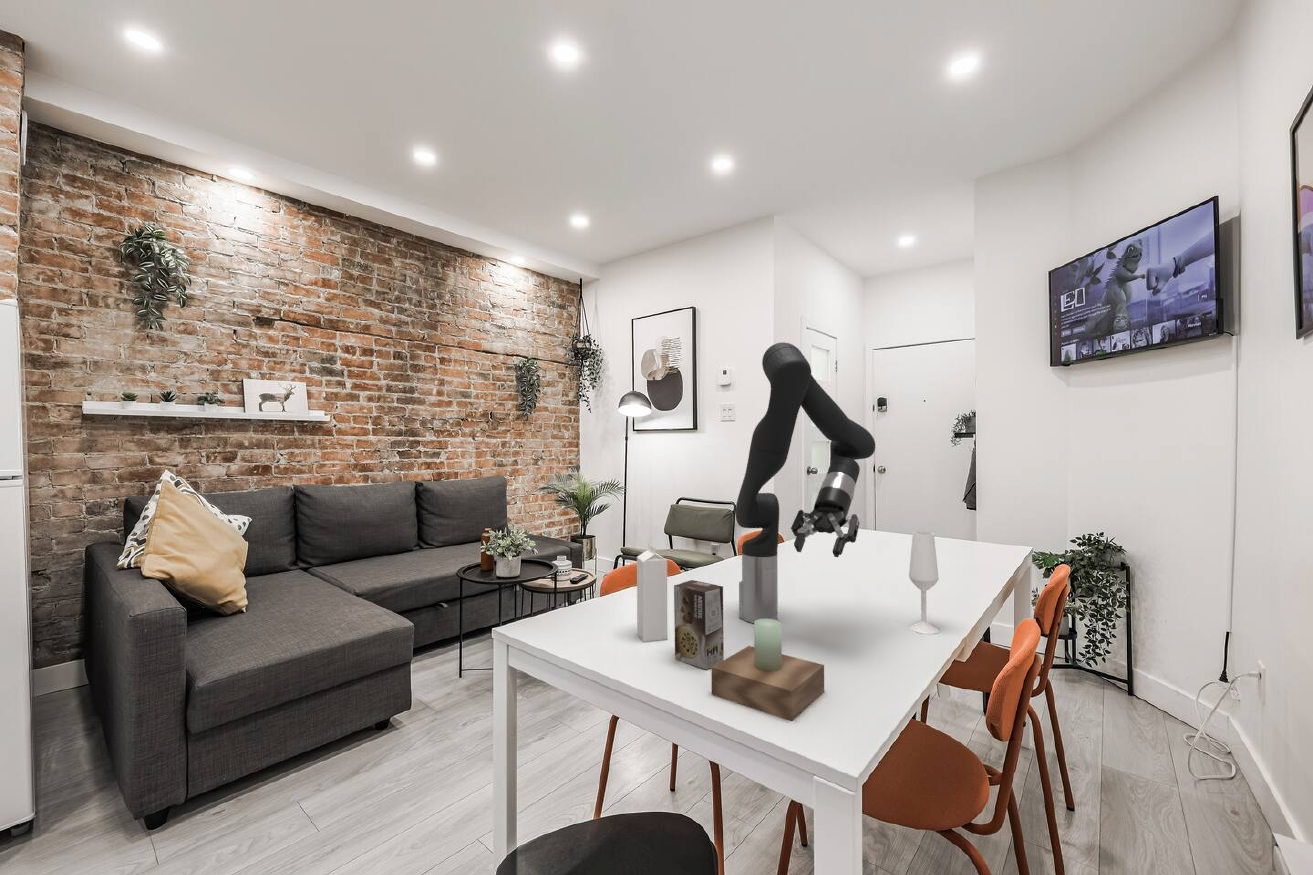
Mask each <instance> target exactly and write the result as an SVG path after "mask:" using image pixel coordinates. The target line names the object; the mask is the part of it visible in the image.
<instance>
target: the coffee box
mask: <svg viewBox="0 0 1313 875" xmlns="http://www.w3.org/2000/svg"><path fill="white" fill-rule="evenodd" d="M673 608H674V610H673V613H674V614H673V615H674V621H673V622H674V660H677V661H680V662H683V663H686V664H688V665H692V666H695V667H698V668H700V669H703V670H709V669H712V667H713V666H715V665H716V664H718V663H720V662H722V661H723V660H725V658H724V656H725V655H724V653H725V652H724V586H723V585H722V586H721V585H717V584H713V583H709V582H704V581H699V580H693V579H691V580H687V581H684V582H681V583H678V584H674V585H673Z"/></svg>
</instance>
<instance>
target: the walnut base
mask: <svg viewBox="0 0 1313 875" xmlns="http://www.w3.org/2000/svg"><path fill="white" fill-rule="evenodd" d="M823 693H825V664H822V663H818V662H815V661H810V660H806V659H804V658H803V659H802V658H798V657H794V656H790V655H786V654H782V668H781V669H780V670H777V671H764V670H760V669H758V668H756V667H755V665H754V646H751V645H748V646H746V647H744V648H742V649H740V650H739V651H737V652H736V653H734V654H732V655H730V656H729V657H727V658H724V660H723V661H722V662H720V663H718V664H716V665H715V666H713V667H711V695H712V694H713V695H712V696H716V697H719V698H721V699H724V700H728V701H730V702H734V703H737V704H739V705H742V706H746V707H748V708H752V709H754V710H758V711H761V712H764V713H765V714H770V715H772V714H774V715H773V716H775V715H776V716H775V717H778V716H779V718H781V717H782V719H784V720H788V721H791V722H793V720H794V719H795V720H796V718H797V717H798V716H799V715H800V714H802V713H803V712H804V711H805V710H806V709H807V708H808V707H809V706H810V705H812V703H814V702H815V701H816V700H817V699H818V698H819V697H820V696H821V695H822V694H823Z"/></svg>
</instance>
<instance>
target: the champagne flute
mask: <svg viewBox="0 0 1313 875" xmlns="http://www.w3.org/2000/svg"><path fill="white" fill-rule="evenodd" d="M908 577H909V579H910V581H911V583H912V584H913V585H914V586H915V587H916V588H918V590H920V598H921V600H920V603H921V604H920V610H921V613H920V615H921V616H920V617H921V618H920V619H921V620H920V621H919V622H917V623H915V624H911V625H910V626H909V630H911V631H913V632H915V633H919V634H924V635H925V634H926V635H927V634H928V635H934V634H938V633H939V632H940V631H939V629H937V628H936V627H934V626H933V625H931V624H930V622H927V591H928V590H930V589H932V588H933V587H934V586H936V584H937V583H938V581H939V578H940V577H939V568H938V560H937V550H936V540H935V533H934V532H932V531H918V530H917V531H912V538H911V550H910V560H909V571H908Z"/></svg>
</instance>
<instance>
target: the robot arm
mask: <svg viewBox="0 0 1313 875" xmlns="http://www.w3.org/2000/svg"><path fill="white" fill-rule="evenodd" d="M761 365H762V370H763V372H764V375H765V377H766V378H767V380H768V381H769V385H770V392H769V400H768V407H767V410H766V412H765V415H764V416H763V417H762V418H761V419H760V421H759V422H758V423H757V425H755V428H754V430H753V432H752V436H751V442H750V445H749V446H750V447H749V451H748V458H747V459H748V460H747V463H746V464H747V465H746V468H745V469H746V470H745V473H744V477H743V480H742V484H741V487H740V489H739V493H738V496H737V501H736V505H735V520H736V523H737V525H738V526H739V527H741V528H743V529H761V531H760V532H759V533H758V534H757V535H756V536H754V537H752V538H750V539H747V540H745V541H743V542H742V545H741V573H742V574H741V575H742V576H741V578H742V579H741V581H739V582H738V618H739V619H742V620H744V621H745V622H747V623H752V624H754V621H755V620H758V619H774V620H777V621H779V619H778V617H779V609H778V608H779V606H778V604H779V603H778V602H779V601H778V600H779V598H778V595H779V594H778V589H779V588H778V579H779V578H778V547H779V528H780V527H779V526H780V525H779V524H780V503H779V499H778V497H777V495H776V494H774V493H773V492H772V493H771V492H760V491H761V489H762V488H763V487H764V486H765V485H766V484H767V483H768V482H769V481H770V480H771V479H772V478H774V477H775V476H776V475H777V474H778V473H779V472H780V471H781V469H782V468H783V467H784V465H785V464H786V462H787V459H788V457H789V456H788V455H789V451H790V447H791V443H792V438H793V435H794V431H795V427H796V423H797V419H798V415H799V412H800V408H802V409H803V411H804V413H805V414H806V415H807V417H808V418H809V419H810V421H811V422H812V424H813V425H815V427H816V428H817V429H818V431H820V433H822V435H823V436H824V437H825V438H826V439H827V440H829V441H830V445H829V452H830V453H829V454H830V459H829V460H830V461H829V462H830V463H829V466H828V470H827V472H826V475H825V478H824V480H823V481H822V482H821V483H822V484H821V485H820V488H819V491H818V494H817V497H816V500H815V502H814V505H813V509H812V511H811V512H810V513H809V512H804V510H803V509H799V510H798V512H797V514H796V517H795V518H794V521H793V523H792V525H791V527H790V529H791V532H792V533H793V535H794V536H795V537H796V538H795V540H794V542H793V546H794V547H795V548H794V549H795V550H796V552H797V553H802V551H803V547H804V545H805V543H806V538H808V537H810V536H813V535H815V534H816V533H827V534H830V535H831V534H833V533H835V534H836V536H837V537H836V540H835V542H834V545H833V549H832V554H833V556H834V558H839V557H840V556H841V555H843V551H844V548H845V546H846V544H847V543H856V541H857V537H858V531H859V528H860V525H861V524H860V519H859V518H858V515H857V514H856V513H855V514H851V516H850V515H849V516H848V513H849V511H850V508H851V504H852V501H853V500H854V494H855V488H856V484H857V483H858V478H859V475H860V471H861V470H860V469H861V468H860V465H859V463H858V461H856V460H865V459H868V458H870V457H871V456H872V455H874V453H875V451H876V441H875V438H874V437H873V435H872V433H871V432H870V431H868V429H866V427H865V428H864V427H863V426H862V425H861V424H858V423H857V422H855V421H854V420H852V419H851V418H849V417H848V416H847V415H846V414H845V412H844V410H842V409H841V407H840V406H839V405H838V404H837V403H836V402H835V401H834V400H833V399H832V397H831V396H830V395H829V394H828V393H827V392H826V390H824V389H823V387H822V386H821V385H820V384H819V383H818V382H817V380H816V379H815V377H814V376H813V374H812V368H811V365H810V363H809V362H808V360H807V358H806V357H805V355H804V354H803V353H802V351H801V350H800V349H799V348H798V347H797V346H795V345H794V344H792V343H789V342H777V343H775V344H772V345H770V346H769V347H768V348H767V349H766V350H765V351H764V354H763V356H762V362H761ZM846 524H848V529H847V532H846V533H844V531H843V530H842V527H843V526H845V525H846ZM812 525H813V527H812Z"/></svg>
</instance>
